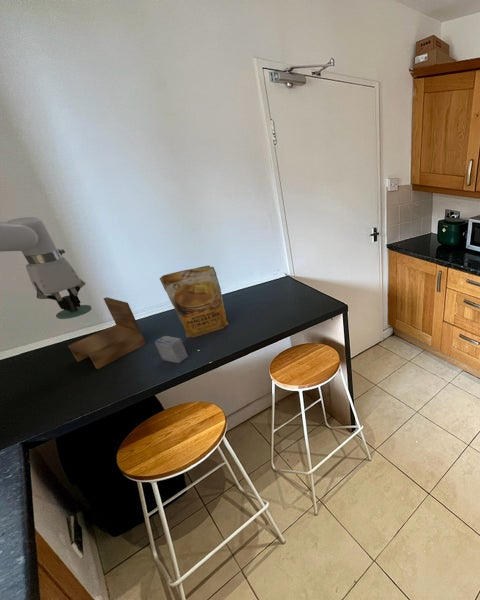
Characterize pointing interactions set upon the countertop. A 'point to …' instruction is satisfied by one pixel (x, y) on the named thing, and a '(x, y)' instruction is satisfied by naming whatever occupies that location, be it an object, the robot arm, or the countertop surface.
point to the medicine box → (171, 349)
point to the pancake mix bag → (196, 300)
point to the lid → (72, 309)
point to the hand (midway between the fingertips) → (72, 307)
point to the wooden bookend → (111, 337)
